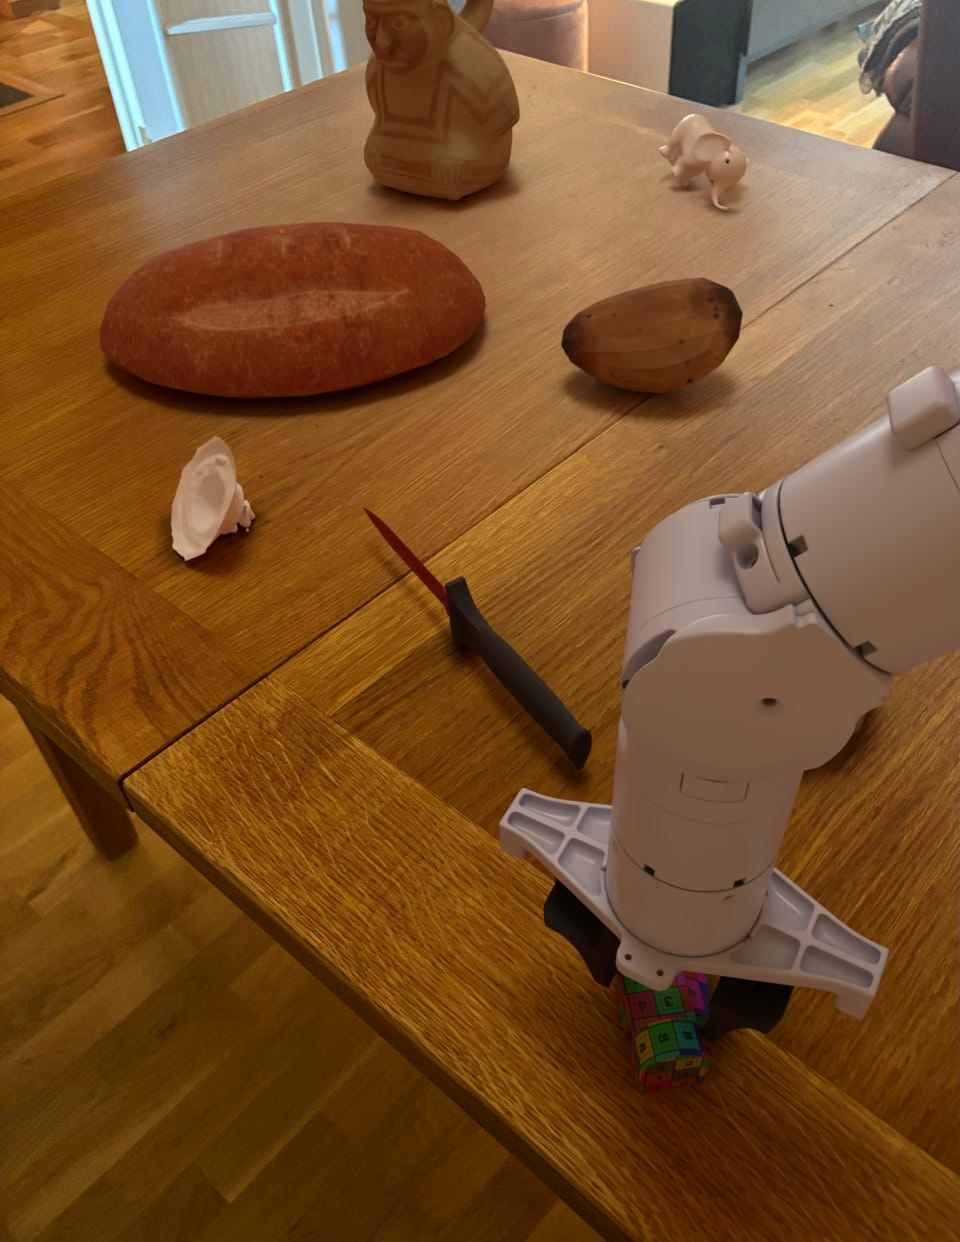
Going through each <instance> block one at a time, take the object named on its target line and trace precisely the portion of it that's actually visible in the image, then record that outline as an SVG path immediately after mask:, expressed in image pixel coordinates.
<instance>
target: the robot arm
mask: <svg viewBox="0 0 960 1242" xmlns="http://www.w3.org/2000/svg"><path fill="white" fill-rule="evenodd" d="M886 406H887V411H888V413H886V414H885V415H883V416H881V417H880V418H878V419H877V420H875V421H873V422H872V423H870V424H869V425H867V426H865V427H863V428H862V429H860V430H859V431H857V432H855V433H854V434H853V435H851V436H849V437H848V438H846V439H844V440H843V441H841V442H839V443H837V444H836V445H834V446H833V447H831V448H829V449H828V450H826V451H824V452H823V453H821V454H820V455H818V456H816V457H815V458H813V459H812V460H810V461H809V462H807V463H806V464H804V465H802V466H800V467H799V468H797V469H795V470H794V471H793V472H790V474H788V475H786V476H785V477H782V478H781V479H780V480H778V481H776V482H775V483H773V484H772V485H770V486H768V487H767V488H765V489H763V490H761V491H760V492H758V493H757V494H756V493H754V492H752V491H746V492H744V493H724V494H723V493H722V494H717V495H711V496H707V497H704V498H701V499H697V500H696V501H693V502H691V503H689V504H687V505H685V506H683V507H682V508H680V509H679V510H677V511H675V512H673V513H671V514H669V515H668V516H667V517H665V518H664V519H662V520H661V521H660V522H658V523H656V525H655V526H654V527H653V528H652V529H651V530H650V531H649V532H648V533H647V535H646V536H645V537H644V539H643V541H642V542H641V543H640V546H636V547H634V548H632V550H631V552H630V573H631V579H632V586H631V594H630V602H629V610H628V618H627V627H626V635H625V645H624V651H623V653H624V654H623V661H622V669H621V677H620V684H619V686H620V687H619V688H620V696H621V702H620V717H619V721H618V729H617V740H616V742H617V743H616V752H615V761H614V763H615V764H614V776H613V785H612V797H611V805H609V804H601V803H594V802H593V803H592V802H585V801H575V800H567V799H564V798H563V799H561V798H557V797H551V796H547V795H544V794H542V793H538V792H535V791H533V790H530V789H527V788H525V787H522V788H521V789H520V790H519V792H518V793H517V795H516V796H515V798H514V799H513V801H512V802H511V804H510V805H509V807H508V809H506V812H505V813H504V815H503V817H502V818H501V820H500V821H499V823H498V829H499V830H498V831H499V847H500V849H499V850H500V851H502V852H504V853H506V854H508V855H510V856H512V857H514V858H516V859H522V860H523V859H524V858H526V857H527V856H528V855H529V853H530V854H531V855H532V856H533V857H535V859H536V860H538V861H539V862H540V863H541V864H542V865H543V866H544V867H545V868H546V869H547V870H548V871H549V872H550V873H551V874H552V875H553V876H554V877H555V879H554V885H553V886H552V888H551V890H550V892H549V893H548V895H547V897H546V899H545V901H544V903H543V914H542V915H543V921H544V926H545V927H547V928H548V929H550V930H551V931H554V932H556V933H558V934H559V935H561V936H562V937H563V938H564V939H565V940H567V941H568V942H569V943H570V944H571V945H572V947H574V949H575V950H576V951H577V953H578V954H579V955H580V958H581V959H582V960H583V962H584V963H585V965H586V968H587V969H588V971H589V973H590V975H591V976H592V979H593V981H594V982H595V983H596V984H598V985H600V986H602V987H604V988H606V989H610V986H611V985H612V982H613V981H614V979H615V977H616V972H617V968H618V971H620V972H621V973H622V974H623V975H625V976H627V977H629V978H631V979H633V980H635V981H637V982H639V983H641V984H643V985H645V986H647V987H649V988H651V989H653V990H657V991H663V990H666V989H668V988H669V987H670V985H671V984H672V982H673V980H674V978H675V976H676V975H677V974H678V973H679V972H681V971H691V972H698V973H704V974H705V975H714V976H720V977H719V979H718V982H717V984H716V987H715V989H714V991H713V993H712V995H711V1000H710V1003H709V1008H710V1011H709V1014H708V1016H707V1018H706V1021H705V1023H704V1026H703V1027H701V1030H700V1033H701V1037H702V1038H705V1039H706V1040H708V1041H711V1042H712V1043H718V1041H720V1039H721V1038H723V1037H724V1036H725V1035H728V1034H730V1033H731V1032H733V1031H736V1030H742V1029H743V1030H749V1029H750V1030H754V1031H756V1032H758V1033H761V1034H764V1035H767V1034H769V1033H770V1032H771V1031H773V1030H774V1029H775V1028H776V1027H777V1026H778V1025H779V1024H780V1022H781V1021H782V1019H783V1018H784V1015H785V1013H786V1010H787V1009H788V1008H787V1007H788V1006H789V1005H788V1004H789V1003H790V999H791V997H792V994H793V991H794V988H795V987H799V988H808V989H813V990H818V991H824V992H829V993H833V994H834V996H833V1002H832V1003H833V1005H834V1007H835V1008H836V1009H837V1010H839V1011H840V1012H843V1013H844V1014H845V1015H849V1016H850V1017H853V1018H855V1019H856V1020H859V1021H862V1020H864V1018H865V1017H866V1014H867V1012H868V1010H869V1008H870V1007H871V1005H872V1003H873V1001H874V1000H875V998H876V995H877V992H878V988H879V986H880V982H881V979H882V976H883V973H884V970H885V968H886V967H885V966H886V963H887V961H888V957H889V953H890V950H889V948H887V947H884V946H882V945H880V944H878V943H876V942H874V941H873V940H870V939H869V938H866V937H865V936H863V935H862V934H860V933H858V932H857V931H855V930H853V929H852V928H850V927H849V926H848V925H846V924H845V923H844V922H843V921H841V920H840V919H838V918H837V917H836V916H835V915H833V913H831V912H830V911H829V910H827V909H826V908H825V907H824V906H823V905H821V904H820V903H819V902H818V901H817V900H815V899H814V898H813V897H812V896H811V895H810V894H808V893H807V892H805V890H803V889H802V888H801V887H800V886H799V885H797V884H796V883H795V882H794V881H793V880H791V879H790V878H789V877H788V876H787V875H785V874H784V873H783V872H782V871H780V870H779V869H778V868H777V867H776V866H775V865H776V862H777V859H778V856H779V852H780V849H781V847H782V842H783V839H784V836H785V832H786V829H787V826H788V823H789V820H790V816H791V813H792V810H793V807H794V804H795V800H796V797H797V794H798V791H799V789H800V784H801V781H802V778H803V775H804V772H805V771H808V770H813V769H818V768H820V767H821V766H823V765H825V764H827V762H829V761H831V760H832V759H833V758H835V756H837V755H838V754H839V753H840V752H841V750H843V749H844V747H845V746H846V745H847V743H848V742H849V741H850V739H851V737H852V736H853V735H852V733H853V731H854V728H855V726H856V723H857V721H858V720H859V719H860V717H861V716H862V715H864V714H865V713H866V712H867V713H869V712H870V711H871V710H873V709H875V708H878V707H881V706H883V705H885V697H886V696H888V695H890V694H891V684H890V682H892V681H893V678H896V677H898V676H900V675H903V673H906V672H908V671H911V670H913V669H915V668H917V667H919V666H922V665H924V664H927V663H929V662H931V661H934V660H937V659H938V658H941V657H943V656H944V655H947V654H950V653H952V652H954V651H956V650H959V649H960V368H959V369H957V370H955V371H954V372H952V373H950V374H949V375H948V374H947V372H945V370H944V369H943V368H942V367H941V366H939V365H935V364H934V365H930V366H928V367H927V368H925V369H923V370H922V371H920V372H918V373H917V374H916V375H914V376H913V377H910V378H909V379H907V380H906V381H905V382H903V383H901V384H900V385H898V386H897V387H895V388H893V389H892V390H890V391H889V392H888V393H887V395H886ZM867 713H866V714H867ZM851 735H852V736H851Z"/></svg>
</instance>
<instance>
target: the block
mask: <svg viewBox="0 0 960 1242" xmlns="http://www.w3.org/2000/svg"><path fill="white" fill-rule="evenodd" d="M614 991H615V995H616V1001H617V1004H618V1008H619V1013H620V1017H621V1022H622V1027H623V1030H624V1035H625V1039H628V1038H629V1039H630V1038H631V1040H632V1041H631V1048H630V1055H629V1058H630V1061H631V1066H632V1070H633V1074H634V1075H633V1076H634V1079H635V1083H636V1088H637V1092H638V1093H645V1092H650V1091H651V1092H652V1091H657V1090H663V1089H672V1088H678V1087H685V1086H693V1085H699V1084H703V1083H704V1081H705V1078H706V1074H707V1071H708V1069H709V1065H710V1064H709V1058H708V1055H707V1052H706V1047H705V1044H704V1041H703V1036H701V1030H700V1028H703V1026H704V1023H705V1021H706V1018H707V1016H708V1014H709V1011H710V1008H709V1003H710V1000H711V998H712V995H711V991H710V988H709V985H708V981H707V977H706V974H705V973H698V972H691V971H681V972H679V973H678V974H677V975H676V976H675V978H674V980H673V982H672V984H671V985H670V987H669V988H668V989H666V990H663V991H657V990H653V989H651V988H649V987H647V986H645V985H643V984H641V983H639V982H637V981H635V980H633V979H631V978H629V977H627V976H625V975H623V974H622V973H621V972H620V971H618V968H617V972H616V974H615V976H614Z"/></svg>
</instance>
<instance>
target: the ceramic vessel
mask: <svg viewBox="0 0 960 1242" xmlns="http://www.w3.org/2000/svg"><path fill="white" fill-rule="evenodd" d="M361 2H362V10H363V13H364V17H365V22H364V33H365V36H366V40H367V42H368V44H369V46H370V48H371V52H370V54H369V57H368V59H367V63H366V67H365V73H364V74H365V77H364V78H365V79H364V80H365V91H366V95H367V99H368V102H369V105H370V107H371V110H372V111H373V113H374V115H375V117H374V120H373V125H372V127H371V129H370V131H369V133H368V135H367V137H366V140H365V144H364V147H363V160H364V164H365V167H366V168H367V169H368V171H369V172H370V174H371V175H372V177H373V179H374V180H376V181H377V183H379V184H381V185H383V186H386V187H388V188H392V189H394V190H397V191H400V192H404V193H409V194H413V195H416V196H424V197H430V198H437V199H445V200H448V201H459V200H460V199H462V198H463V197H464V196H468V195H471V194H474V193H477V192H479V191H481V190H484V189H485V188H488V187H489V186H492V185H493V184H495V182H497V181H498V180H500V178H502V177H503V176H504V175H505V173H506V171H507V169H508V167H509V165H510V160H511V156H512V148H513V128H514V127H515V126H516V125H517V124H518V123H519V122H520V118H521V112H520V100H519V96H518V94H517V89H516V86H515V82H514V80H513V78H512V77H513V76H512V75H511V72H510V70H509V67H508V66H507V63H506V62H505V60H504V58H503V56H502V55H501V54H500V53H499V52H498V50H497V48H495V46H494V45H493V44H492V43H491V42H490V41H489V39H487V38H486V37H485V36H484V35H482V33H483V31H484V30H485V29H486V27H487V25H488V23H489V21H490V18H491V15H492V12H493V8H494V3H495V0H465V3H464V5H463V6H462V8H461V10H460V11H459V12H458V13H456V11H455V10H453V8H452V6H451V5H450V3H449V2H448V0H361Z"/></svg>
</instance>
